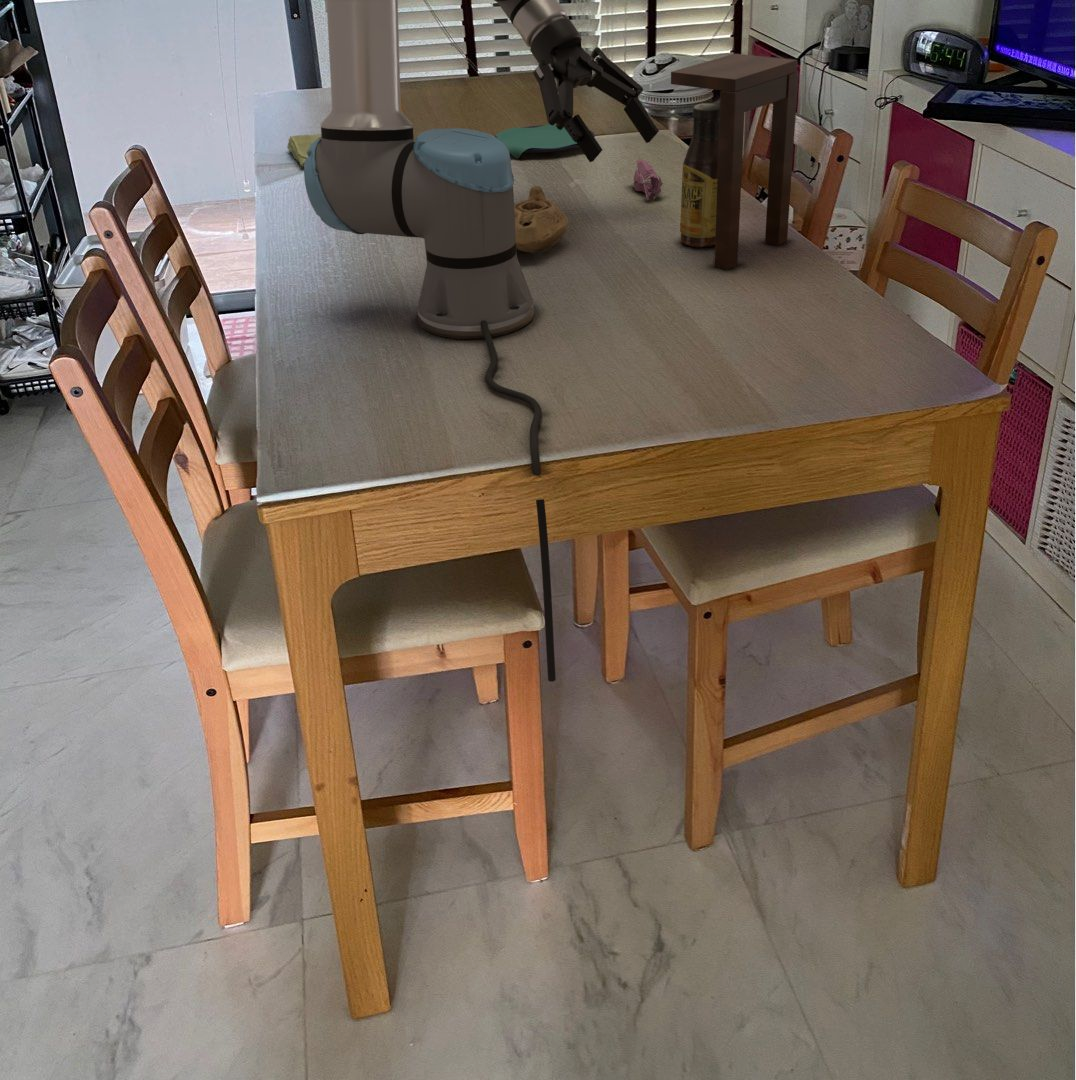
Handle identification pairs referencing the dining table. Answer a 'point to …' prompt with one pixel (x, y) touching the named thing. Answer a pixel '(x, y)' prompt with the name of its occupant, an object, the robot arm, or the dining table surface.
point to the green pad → (536, 139)
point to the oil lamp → (538, 222)
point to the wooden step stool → (742, 90)
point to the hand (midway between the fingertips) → (625, 146)
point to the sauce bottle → (701, 179)
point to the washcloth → (301, 146)
